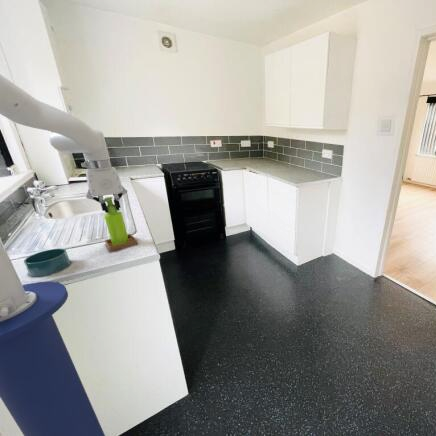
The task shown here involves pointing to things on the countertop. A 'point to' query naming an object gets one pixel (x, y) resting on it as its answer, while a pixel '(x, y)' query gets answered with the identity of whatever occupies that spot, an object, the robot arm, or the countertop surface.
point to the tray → (112, 248)
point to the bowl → (47, 262)
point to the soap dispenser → (115, 224)
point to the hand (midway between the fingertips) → (112, 210)
